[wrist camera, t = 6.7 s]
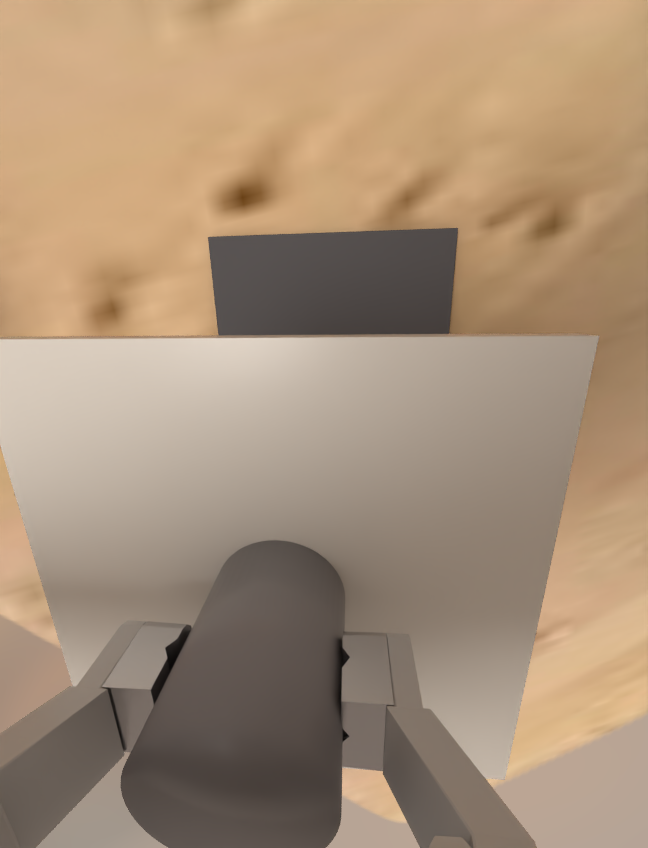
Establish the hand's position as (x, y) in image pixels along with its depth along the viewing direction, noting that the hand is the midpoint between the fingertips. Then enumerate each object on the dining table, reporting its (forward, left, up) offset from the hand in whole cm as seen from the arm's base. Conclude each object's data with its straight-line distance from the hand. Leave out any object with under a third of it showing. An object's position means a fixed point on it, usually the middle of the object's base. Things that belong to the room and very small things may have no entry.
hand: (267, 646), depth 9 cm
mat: (0, -4, -22) cm, 22 cm away
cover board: (0, 0, -2) cm, 2 cm away
